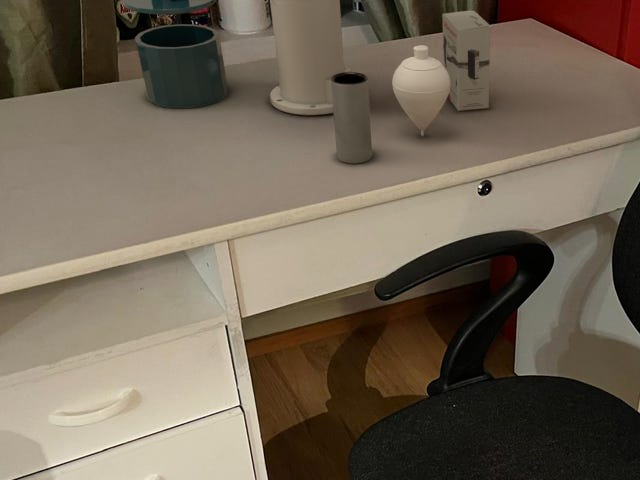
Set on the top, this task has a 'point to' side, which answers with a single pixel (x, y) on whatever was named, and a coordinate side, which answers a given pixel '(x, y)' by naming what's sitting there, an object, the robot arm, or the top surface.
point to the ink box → (467, 59)
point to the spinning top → (421, 87)
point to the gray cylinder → (351, 117)
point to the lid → (166, 6)
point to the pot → (182, 65)
